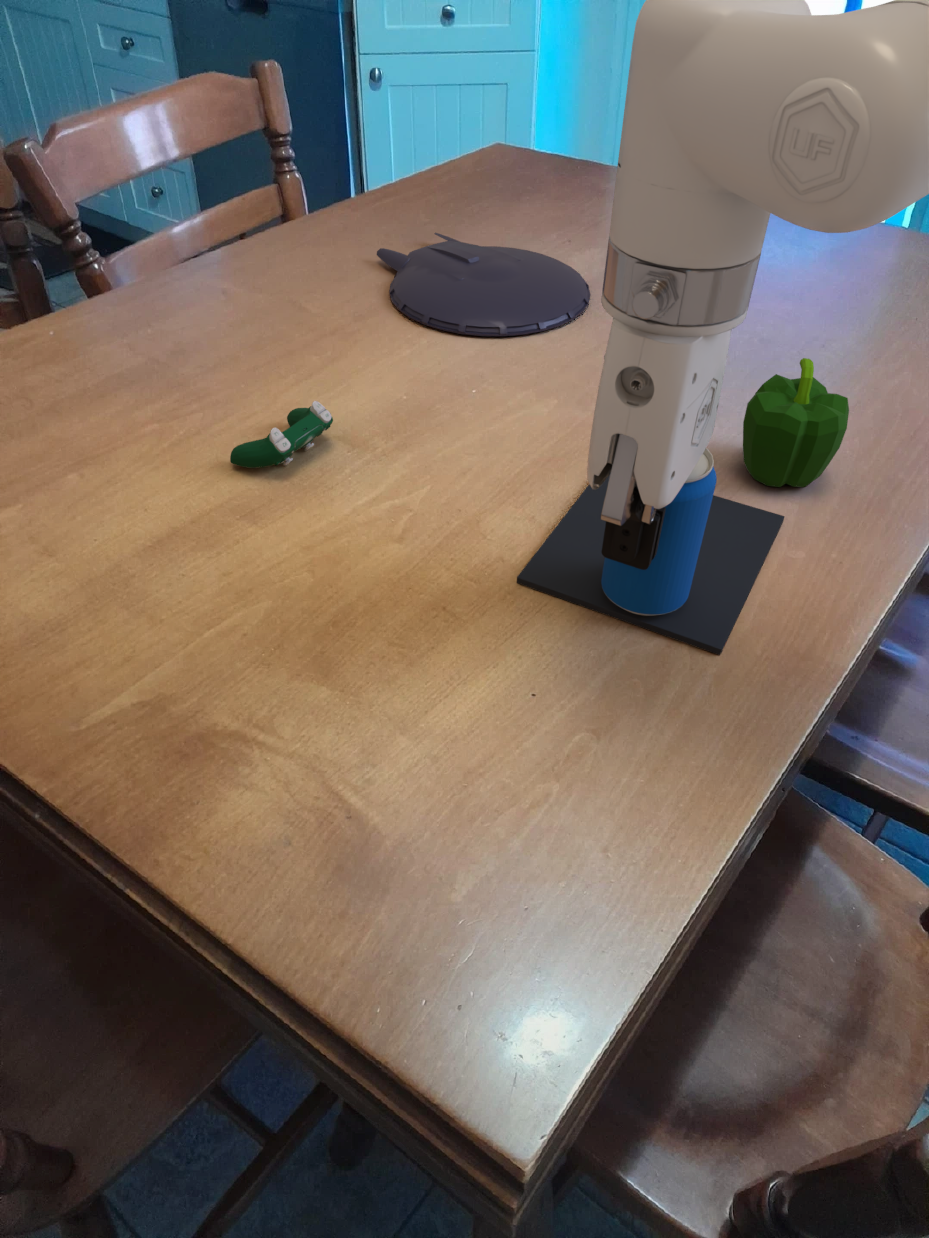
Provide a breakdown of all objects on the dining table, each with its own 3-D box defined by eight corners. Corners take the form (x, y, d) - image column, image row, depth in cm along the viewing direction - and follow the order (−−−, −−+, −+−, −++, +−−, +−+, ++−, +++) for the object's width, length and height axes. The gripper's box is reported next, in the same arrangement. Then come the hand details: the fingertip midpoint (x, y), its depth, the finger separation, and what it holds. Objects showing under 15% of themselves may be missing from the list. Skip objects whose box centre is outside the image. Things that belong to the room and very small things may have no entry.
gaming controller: (250, 491, 80) (281, 466, 76) (222, 456, 79) (252, 429, 75) (316, 445, 86) (348, 419, 81) (291, 412, 85) (322, 384, 81)
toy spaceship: (331, 275, 111) (328, 249, 109) (479, 232, 122) (479, 207, 120) (478, 359, 95) (479, 330, 93) (632, 300, 107) (636, 273, 104)
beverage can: (692, 575, 69) (725, 439, 61) (681, 631, 64) (715, 492, 56) (608, 558, 70) (630, 423, 62) (592, 612, 66) (612, 473, 57)
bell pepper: (811, 512, 76) (847, 407, 69) (719, 481, 79) (744, 378, 72) (839, 466, 81) (875, 364, 74) (751, 439, 84) (778, 339, 78)
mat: (783, 521, 75) (784, 516, 75) (719, 655, 63) (721, 649, 63) (604, 468, 81) (605, 463, 80) (516, 583, 69) (516, 577, 68)
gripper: (705, 354, 40) (643, 647, 52) (786, 244, 50) (717, 514, 62) (551, 317, 42) (526, 605, 55) (656, 219, 52) (615, 483, 65)
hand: (628, 556), depth 58 cm, fingers closed
